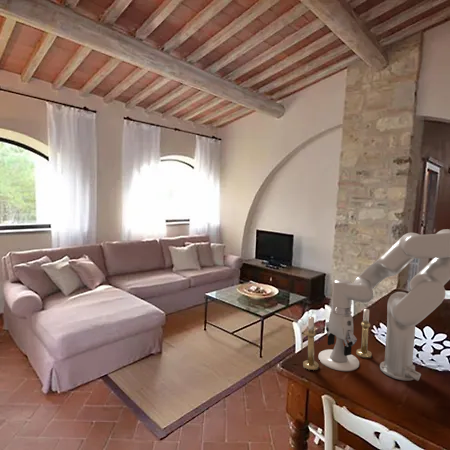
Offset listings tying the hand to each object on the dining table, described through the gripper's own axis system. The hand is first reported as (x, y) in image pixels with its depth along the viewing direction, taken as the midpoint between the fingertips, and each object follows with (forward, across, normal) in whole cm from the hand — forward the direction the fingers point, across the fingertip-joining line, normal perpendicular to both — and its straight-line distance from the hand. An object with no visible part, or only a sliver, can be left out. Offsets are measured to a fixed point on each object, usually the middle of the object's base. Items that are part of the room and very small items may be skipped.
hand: (338, 349), depth 131 cm
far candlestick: (+5, 0, -14) cm, 15 cm away
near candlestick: (+5, 0, +14) cm, 15 cm away
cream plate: (+5, 0, 0) cm, 5 cm away
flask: (+4, 0, 0) cm, 4 cm away
